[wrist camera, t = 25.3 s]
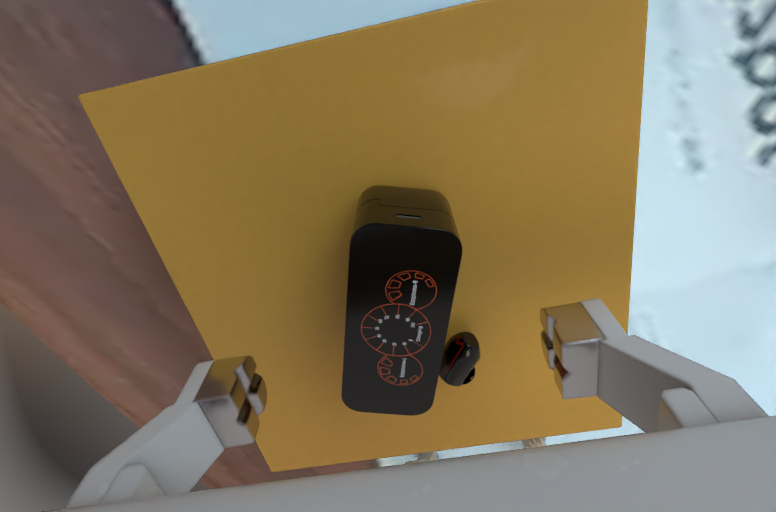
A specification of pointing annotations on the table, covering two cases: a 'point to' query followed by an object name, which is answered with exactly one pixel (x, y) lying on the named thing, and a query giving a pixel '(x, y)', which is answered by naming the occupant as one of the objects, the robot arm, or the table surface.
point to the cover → (401, 169)
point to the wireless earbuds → (402, 303)
